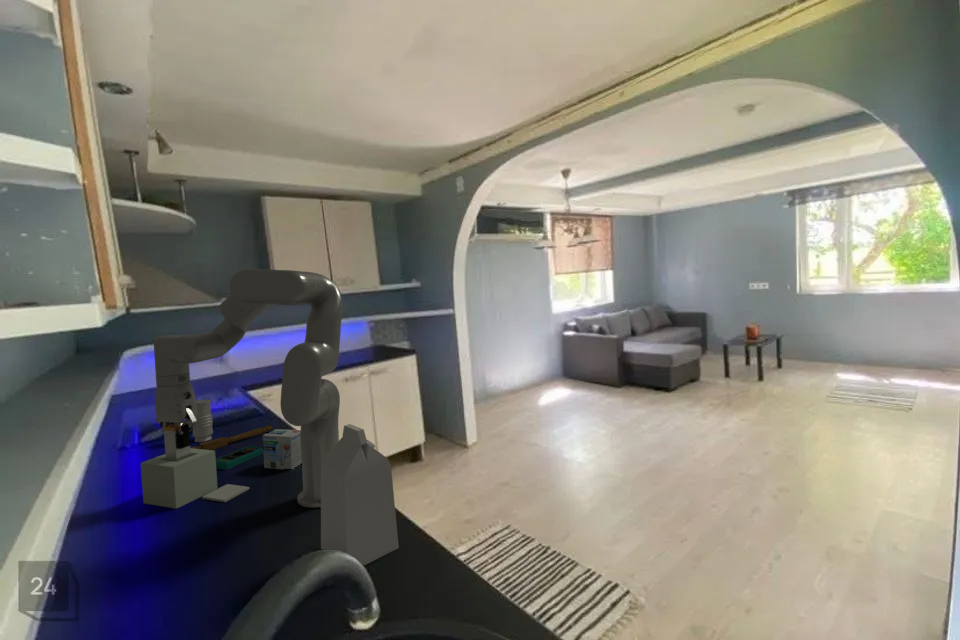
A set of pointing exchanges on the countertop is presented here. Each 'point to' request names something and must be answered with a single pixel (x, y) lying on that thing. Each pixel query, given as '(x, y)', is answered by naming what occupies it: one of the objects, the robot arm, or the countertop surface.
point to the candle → (203, 421)
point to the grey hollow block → (178, 478)
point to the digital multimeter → (237, 457)
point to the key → (174, 444)
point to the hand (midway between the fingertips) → (177, 445)
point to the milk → (357, 499)
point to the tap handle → (230, 439)
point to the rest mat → (225, 493)
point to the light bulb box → (282, 449)
